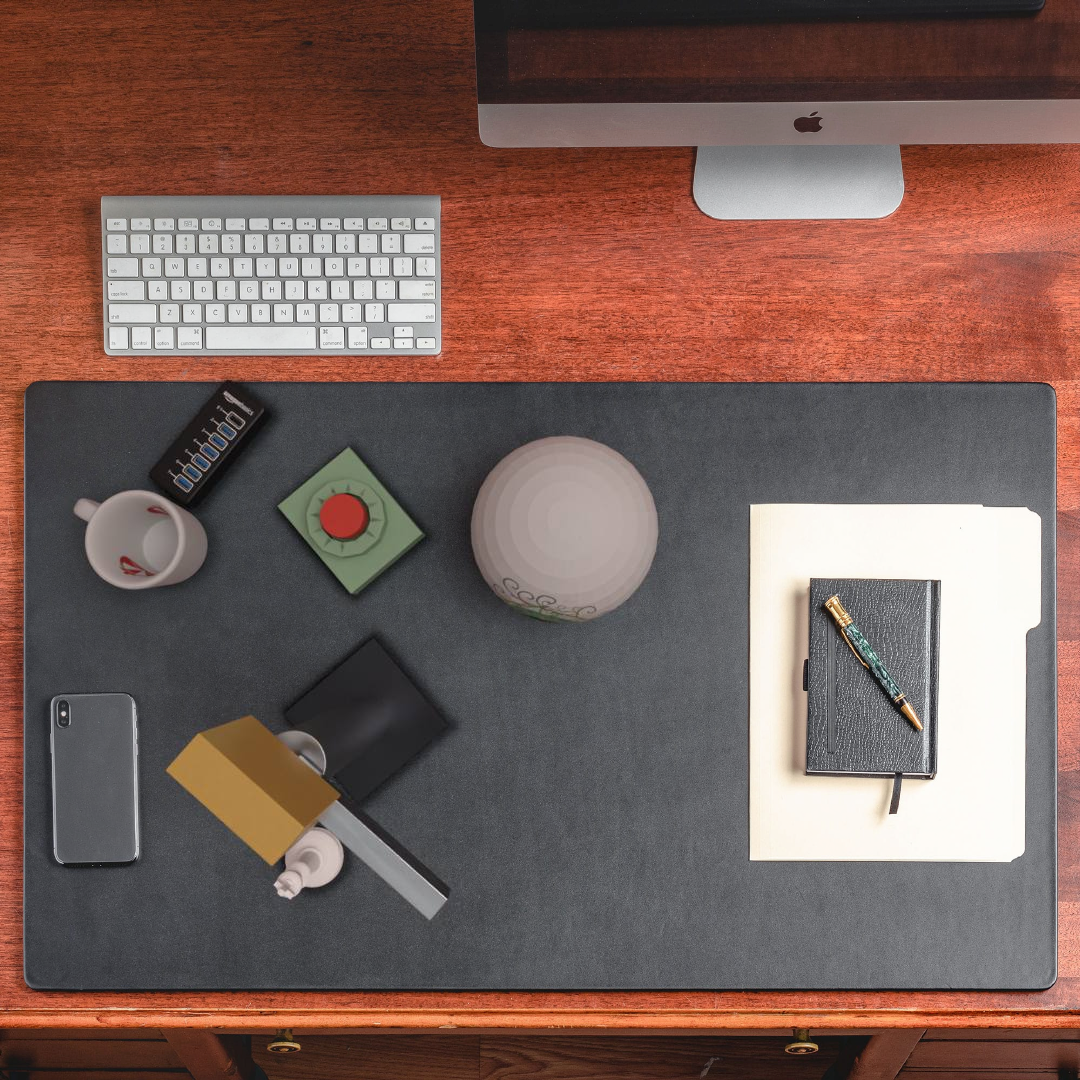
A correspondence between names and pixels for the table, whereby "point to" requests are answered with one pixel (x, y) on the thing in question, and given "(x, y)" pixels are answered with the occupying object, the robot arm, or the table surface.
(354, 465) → the button box
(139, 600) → the table surface
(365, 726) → the faucet body
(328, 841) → the chess piece
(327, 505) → the button
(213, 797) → the tap handle
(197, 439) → the multiport hub
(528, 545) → the decorative object
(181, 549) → the cup
